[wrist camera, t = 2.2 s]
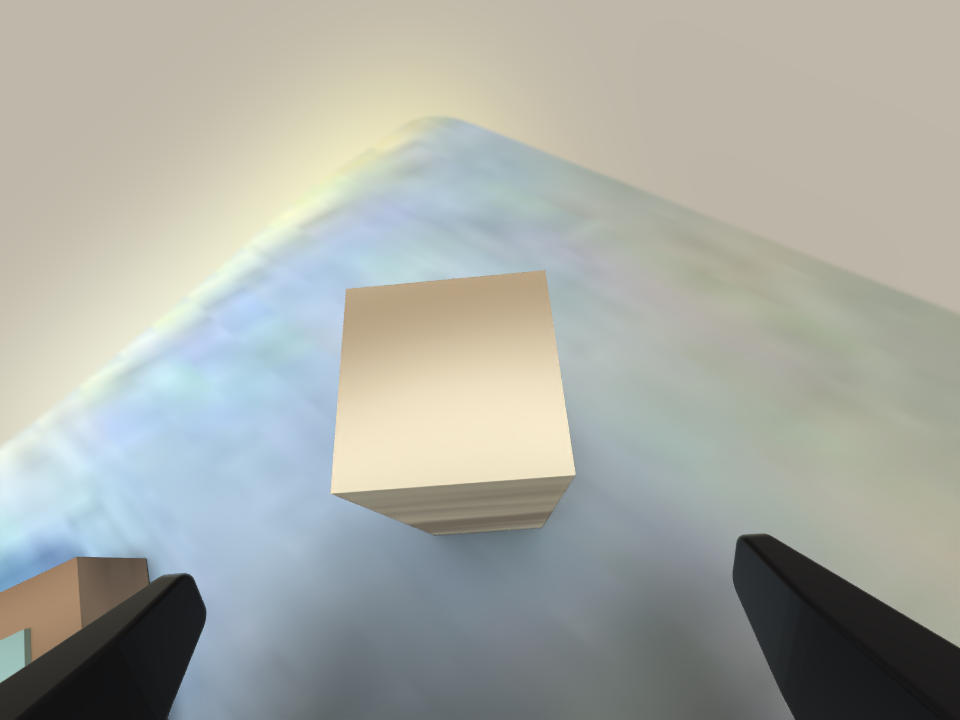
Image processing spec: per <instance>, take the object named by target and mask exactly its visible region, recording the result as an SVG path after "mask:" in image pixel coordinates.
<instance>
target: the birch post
mask: <svg viewBox="0 0 960 720" xmlns="http://www.w3.org/2000/svg"><path fill="white" fill-rule="evenodd" d="M575 475H576V474H575V467H574V460H573V454H572V447H571V440H570V434H569V427H568V420H567V414H566V407H565V400H564V394H563V387H562V380H561V373H560V367H559V360H558V353H557V347H556V340H555V333H554V327H553V320H552V313H551V307H550V300H549V293H548V286H547V280H546V273H545V270H544V271H533V272H522V273H512V274H501V275H491V276H480V277H469V278H459V279H448V280H437V281H427V282H416V283H406V284H395V285H384V286H374V287H363V288H353V289H346V298H345V311H344V325H343V338H342V351H341V364H340V377H339V390H338V404H337V417H336V430H335V443H334V456H333V469H332V483H331V494H333V495H335V496H338V497H340V498H343V499H345V500H348V501H350V502H353V503H355V504H358V505H360V506H363V507H365V508H368V509H370V510H373V511H375V512H378V513H380V514H383V515H385V516H388V517H390V518H393V519H395V520H398V521H400V522H403V523H405V524H408V525H410V526H413V527H415V528H418V529H420V530H423V531H425V532H428V533H430V534H433V535H449V534H463V533H477V532H491V531H505V530H519V529H533V528H542V527H543V525H544V524H545V522H546V521H547V519H548V517H549V516H550V514H551V513H552V511H553V510H554V508H555V507H556V505H557V503H558V502H559V500H560V499H561V497H562V496H563V494H564V492H565V491H566V489H567V488H568V486H569V485H570V483H571V482H572V480H573V478H574V477H575Z"/></svg>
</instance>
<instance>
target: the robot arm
mask: <svg viewBox="0 0 960 720" xmlns="http://www.w3.org/2000/svg"><path fill="white" fill-rule="evenodd" d="M733 583H734V587H735V590H736V592H737V594H738V597H739V599H740V601H741V604H742V606H743V608H744V610H745V613H746V615H747V617H748V619H749V622H750V624H751V626H752V629H753V631H754V633H755V635H756V638H757V640H758V642H759V644H760V647H761V649H762V651H763V654H764V656H765V658H766V660H767V663H768V665H769V667H770V669H771V672H772V674H773V676H774V678H775V681H776V683H777V685H778V687H779V689H780V691H781V693H782V695H783V697H784V699H785V701H786V703H787V705H788V707H789V709H790V711H791V713H792V714H793V716H794V718H795V720H960V648H959V647H957V646H956V645H954V644H952V643H951V642H949V641H947V640H946V639H944V638H942V637H941V636H939V635H937V634H936V633H934V632H932V631H930V630H929V629H927V628H925V627H924V626H922V625H920V624H919V623H917V622H915V621H914V620H912V619H910V618H909V617H907V616H905V615H904V614H902V613H900V612H898V611H897V610H895V609H893V608H892V607H890V606H888V605H887V604H885V603H883V602H882V601H880V600H878V599H877V598H875V597H873V596H872V595H870V594H868V593H866V592H865V591H863V590H861V589H860V588H858V587H856V586H855V585H853V584H851V583H850V582H848V581H846V580H845V579H843V578H841V577H840V576H838V575H836V574H835V573H833V572H831V571H829V570H828V569H826V568H824V567H823V566H821V565H819V564H818V563H816V562H814V561H813V560H811V559H809V558H808V557H806V556H804V555H803V554H801V553H799V552H797V551H796V550H794V549H792V548H791V547H789V546H787V545H786V544H784V543H782V542H781V541H779V540H777V539H776V538H774V537H772V536H770V535H768V534H747V535H742V536H740V537H739V538H738V540H737V543H736V550H735V558H734V565H733ZM205 620H206V607H205V604H204V602H203V600H202V597H201V595H200V592H199V590H198V587H197V585H196V583H195V580H194V578H193V577H192V576H191V575H190V574H187V573H179V574H167V575H163V576H161V577H159V578H157V579H156V580H154V581H153V582H151V583H150V584H148V585H147V586H145V587H144V588H142V589H141V590H139V591H138V592H136V593H135V594H133V595H132V596H130V597H129V598H127V599H126V600H124V601H123V602H121V603H120V604H118V605H117V606H115V607H114V608H112V609H111V610H109V611H108V612H106V613H105V614H103V615H102V616H100V617H99V618H97V619H95V620H94V621H92V622H91V623H89V624H88V625H86V626H85V627H83V628H82V629H80V630H79V631H77V632H76V633H74V634H73V635H71V636H70V637H68V638H67V639H65V640H64V641H62V642H61V643H59V644H58V645H56V646H55V647H53V648H52V649H50V650H49V651H47V652H46V653H44V654H43V655H41V656H40V657H38V658H37V659H35V660H34V661H32V662H31V663H29V664H28V665H26V666H25V667H23V668H22V669H20V670H19V671H17V672H16V673H14V674H13V675H11V676H10V677H8V678H7V679H5V680H4V681H2V682H1V683H0V720H166V719H167V716H168V714H169V712H170V709H171V707H172V704H173V702H174V699H175V697H176V694H177V692H178V689H179V687H180V684H181V682H182V680H183V677H184V675H185V672H186V670H187V667H188V665H189V662H190V660H191V657H192V655H193V652H194V650H195V647H196V645H197V642H198V640H199V637H200V635H201V632H202V630H203V627H204V624H205Z"/></svg>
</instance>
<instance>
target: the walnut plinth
mask: <svg viewBox="0 0 960 720" xmlns="http://www.w3.org/2000/svg"><path fill="white" fill-rule="evenodd" d="M148 584H149V579H148V571H147V564H146V559H141V558H102V557H75V558H73V559H71V560H69V561H67V562H65V563H63V564H60V565H58V566H56V567H54V568H52V569H50V570H48V571H45V572H43V573H41V574H39V575H37V576H35V577H33V578H30V579H28V580H26V581H24V582H22V583H20V584H18V585H16V586H13V587H11V588H9V589H7V590H5V591H3V592H1V593H0V683H1V682H2V681H4V680H5V679H7V678H8V677H10V676H11V675H13V674H14V673H16V672H17V671H19V670H20V669H22V668H23V667H25V666H26V665H28V664H29V663H31V662H32V661H34V660H35V659H37V658H38V657H40V656H41V655H43V654H44V653H46V652H47V651H49V650H50V649H52V648H53V647H55V646H56V645H58V644H59V643H61V642H62V641H64V640H65V639H67V638H68V637H70V636H71V635H73V634H74V633H76V632H77V631H79V630H80V629H82V628H83V627H85V626H86V625H88V624H89V623H91V622H92V621H94V620H95V619H97V618H99V617H100V616H102V615H103V614H105V613H106V612H108V611H109V610H111V609H112V608H114V607H115V606H117V605H118V604H120V603H121V602H123V601H124V600H126V599H127V598H129V597H130V596H132V595H133V594H135V593H136V592H138V591H139V590H141V589H142V588H144V587H145V586H147V585H148ZM166 720H167V719H166Z"/></svg>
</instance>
